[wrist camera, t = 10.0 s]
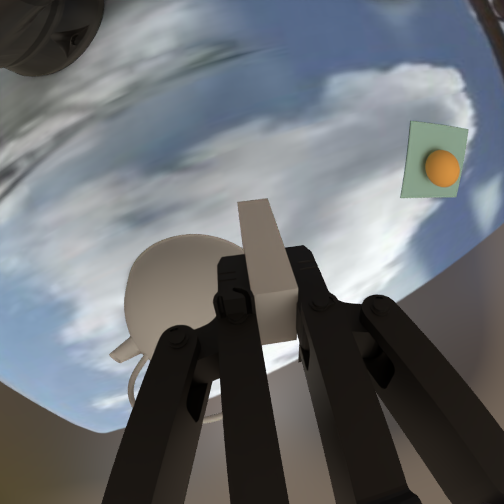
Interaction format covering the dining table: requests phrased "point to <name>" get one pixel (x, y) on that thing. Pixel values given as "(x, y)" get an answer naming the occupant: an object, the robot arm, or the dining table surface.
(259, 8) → the dining table surface
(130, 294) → the kettle
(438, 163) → the ball
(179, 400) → the robot arm
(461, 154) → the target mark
